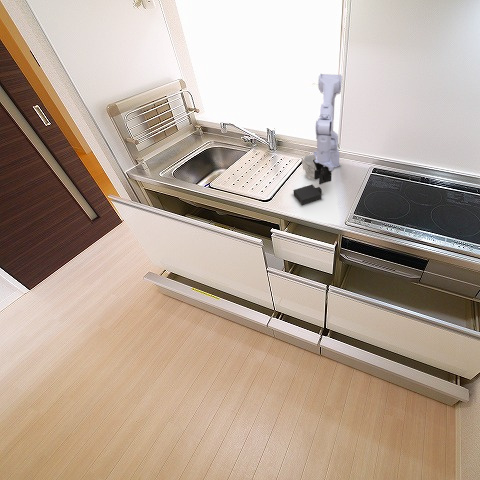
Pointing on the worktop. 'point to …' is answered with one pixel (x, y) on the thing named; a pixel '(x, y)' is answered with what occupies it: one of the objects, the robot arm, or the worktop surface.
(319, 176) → the pad
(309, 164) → the mug
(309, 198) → the base pad
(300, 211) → the worktop surface
